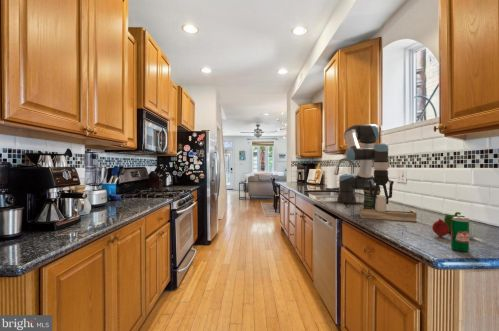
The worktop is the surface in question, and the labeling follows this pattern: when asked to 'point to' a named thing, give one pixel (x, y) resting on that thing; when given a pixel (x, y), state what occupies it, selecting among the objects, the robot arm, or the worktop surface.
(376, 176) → the robot arm
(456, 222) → the soda can
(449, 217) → the bell pepper
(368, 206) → the coffee jar
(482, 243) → the worktop surface
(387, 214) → the track
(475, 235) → the worktop surface
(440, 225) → the onion
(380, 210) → the slider
